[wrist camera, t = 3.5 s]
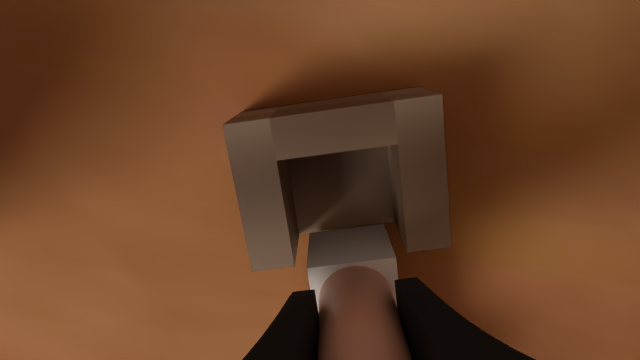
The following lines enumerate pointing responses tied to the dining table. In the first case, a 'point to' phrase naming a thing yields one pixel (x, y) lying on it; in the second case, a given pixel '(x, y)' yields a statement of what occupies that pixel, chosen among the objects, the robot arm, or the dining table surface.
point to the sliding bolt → (356, 294)
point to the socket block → (340, 171)
